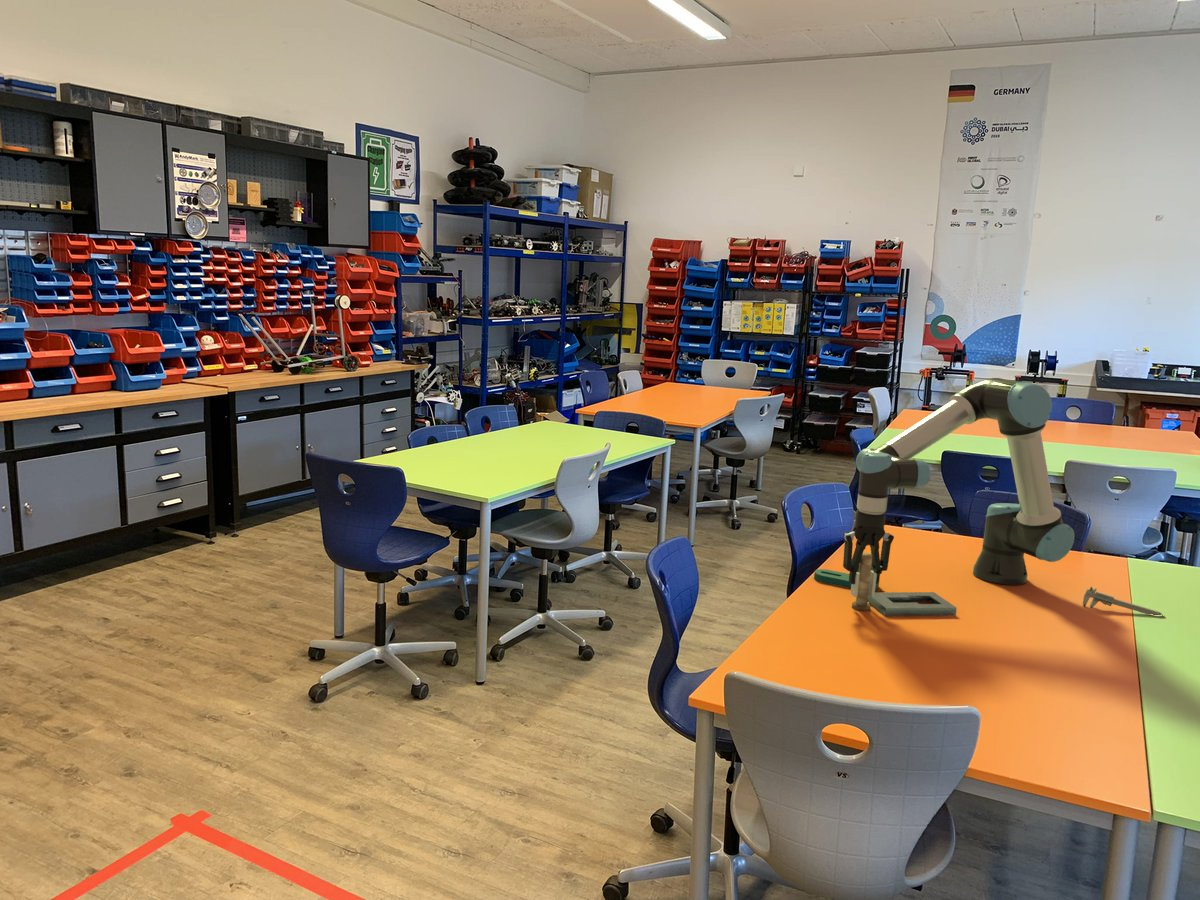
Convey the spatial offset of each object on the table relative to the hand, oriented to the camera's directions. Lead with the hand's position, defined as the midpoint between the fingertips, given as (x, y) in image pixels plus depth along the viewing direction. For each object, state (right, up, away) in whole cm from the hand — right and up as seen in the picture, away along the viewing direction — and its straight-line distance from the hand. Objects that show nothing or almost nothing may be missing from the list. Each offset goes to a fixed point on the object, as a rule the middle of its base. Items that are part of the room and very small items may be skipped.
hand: (862, 595), depth 236 cm
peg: (0, -4, +1) cm, 4 cm away
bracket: (+1, 0, +21) cm, 21 cm away
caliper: (+75, -6, +7) cm, 75 cm away
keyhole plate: (+14, -4, +3) cm, 14 cm away
